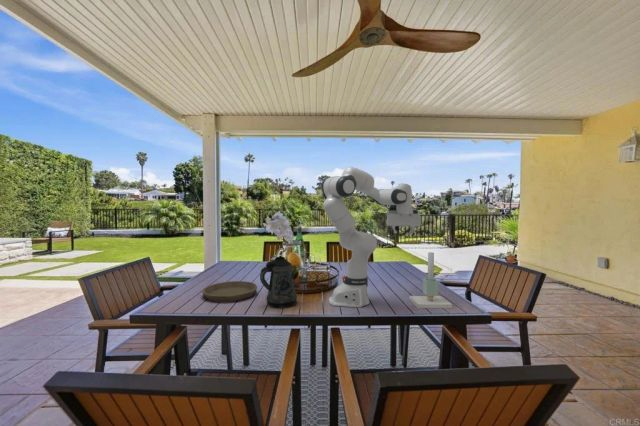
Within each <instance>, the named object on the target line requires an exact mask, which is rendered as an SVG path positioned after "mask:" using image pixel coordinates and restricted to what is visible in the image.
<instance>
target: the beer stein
mask: <svg viewBox="0 0 640 426" xmlns="http://www.w3.org/2000/svg"><path fill="white" fill-rule="evenodd" d="M274 258H275V259H273V260H271V261H268V262H267V263H266V264H265V266H264V267H263V268H262V269H261V270H260V273H259V278H260V279H259V280H260V282H261V284H262V285H263V287H264V288H265V289H266V290H268V291H267V295H266V299H265V300H266V303H267V306H269V307H271V308H274V309H282V308H283V309H285V307H286V308H291V307H293V306H295V305H296V304H297V298H298V295H297V292H296V290H295V286H294V280H293V274H292V269H293V264H292V263H291V261H288V260H287V259H286V257H284V256H276V257H274ZM266 273H270V277H269V283H268V282H267V280H266V277H265V276H266Z"/></svg>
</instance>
